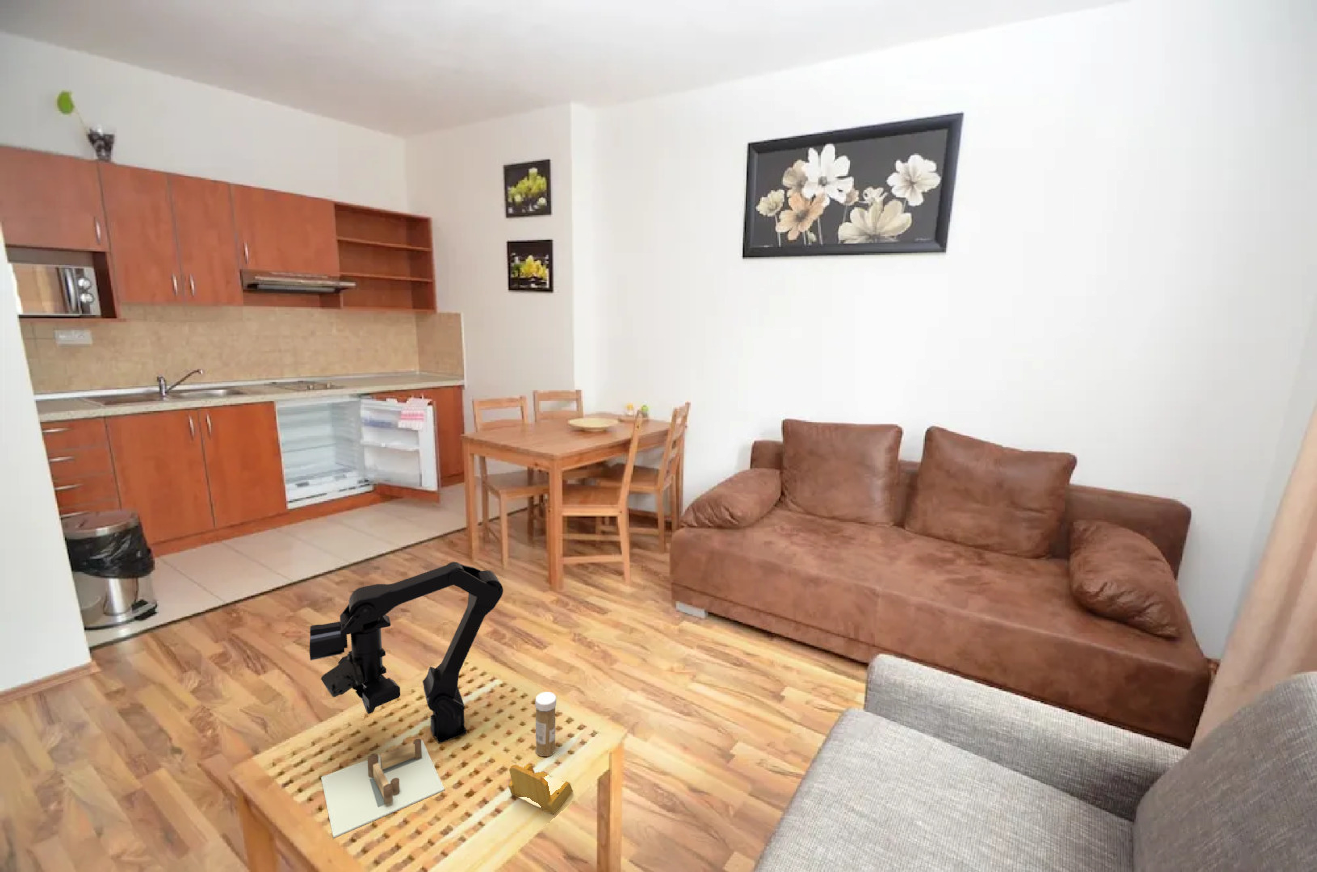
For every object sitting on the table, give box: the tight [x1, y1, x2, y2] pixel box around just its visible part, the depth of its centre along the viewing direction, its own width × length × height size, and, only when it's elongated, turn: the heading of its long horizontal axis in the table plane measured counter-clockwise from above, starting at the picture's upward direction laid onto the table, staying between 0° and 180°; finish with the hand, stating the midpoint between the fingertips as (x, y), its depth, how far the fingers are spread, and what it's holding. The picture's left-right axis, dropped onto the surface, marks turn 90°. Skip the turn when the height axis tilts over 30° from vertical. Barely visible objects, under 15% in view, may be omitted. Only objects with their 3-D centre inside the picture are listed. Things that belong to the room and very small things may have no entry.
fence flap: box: [373, 763, 393, 804], centre depth 115 cm, size 9×2×3 cm, turn 42°
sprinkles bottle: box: [534, 691, 557, 757], centre depth 128 cm, size 5×5×14 cm
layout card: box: [320, 739, 445, 839], centre depth 117 cm, size 20×17×1 cm
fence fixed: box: [366, 738, 422, 796], centre depth 119 cm, size 11×9×4 cm
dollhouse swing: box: [508, 763, 574, 815], centre depth 116 cm, size 10×10×9 cm
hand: (370, 712), depth 124 cm, fingers closed
